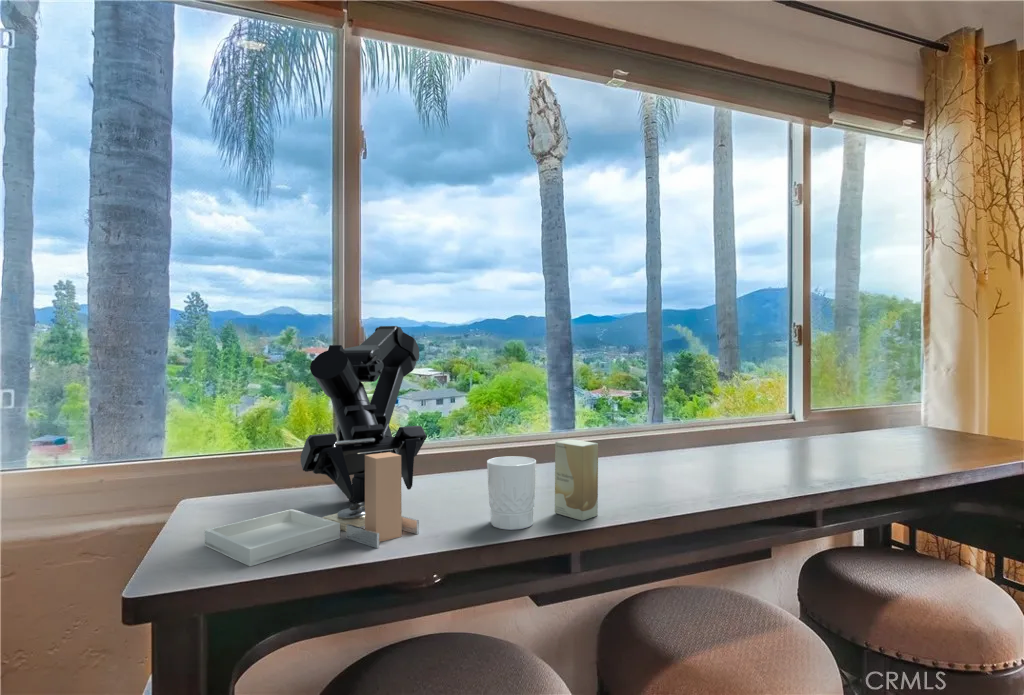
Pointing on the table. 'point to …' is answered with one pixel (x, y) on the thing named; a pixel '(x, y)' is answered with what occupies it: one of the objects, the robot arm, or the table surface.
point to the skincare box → (576, 479)
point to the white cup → (511, 491)
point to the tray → (271, 536)
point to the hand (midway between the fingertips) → (382, 492)
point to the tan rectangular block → (383, 495)
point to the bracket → (356, 518)
